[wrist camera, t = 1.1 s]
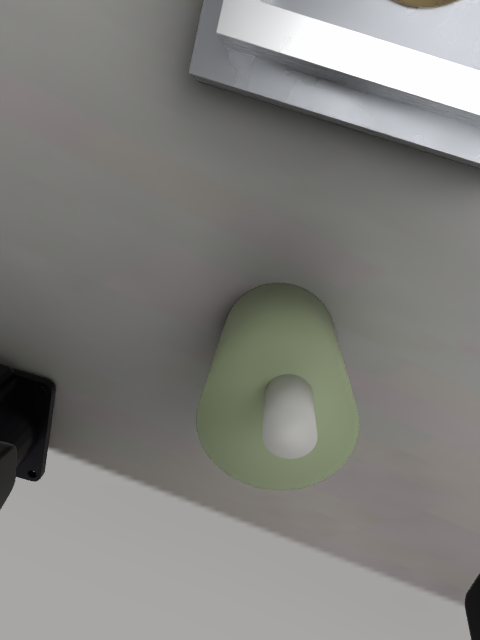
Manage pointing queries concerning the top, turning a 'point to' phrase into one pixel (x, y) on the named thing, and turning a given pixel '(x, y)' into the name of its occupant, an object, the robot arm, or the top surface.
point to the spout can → (278, 392)
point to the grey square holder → (354, 65)
